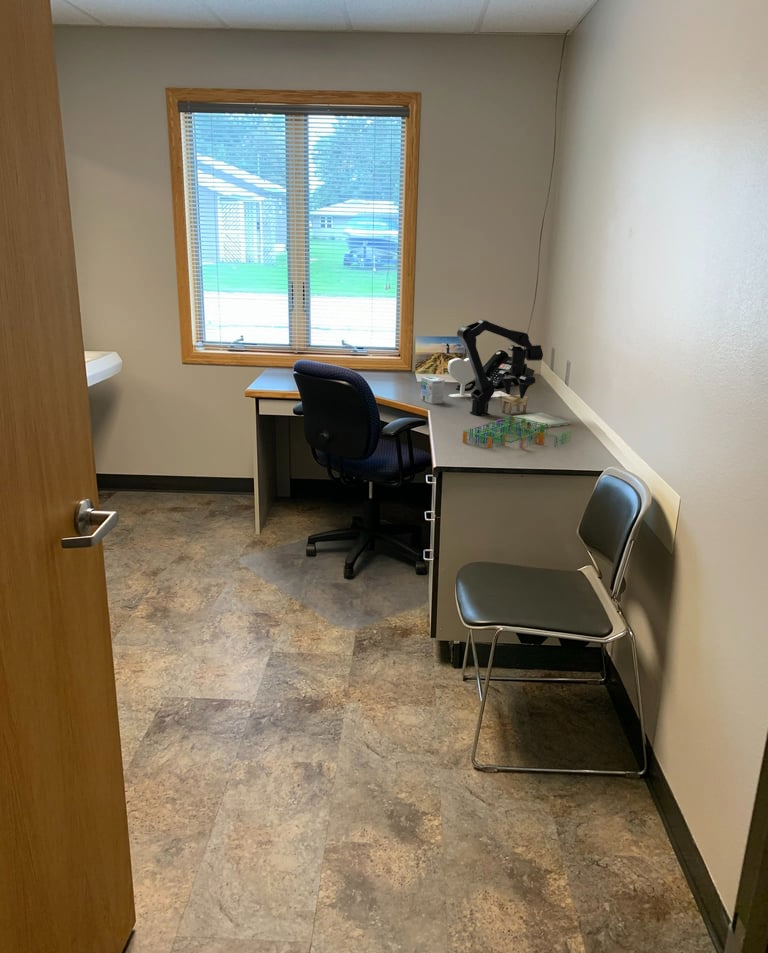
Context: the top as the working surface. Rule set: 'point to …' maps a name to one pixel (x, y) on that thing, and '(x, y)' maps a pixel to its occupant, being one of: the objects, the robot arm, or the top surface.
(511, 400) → the maple stool
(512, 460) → the top surface
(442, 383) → the light bulb box
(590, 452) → the top surface
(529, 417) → the sage board
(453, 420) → the top surface
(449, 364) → the heart sculpture
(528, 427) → the house model
